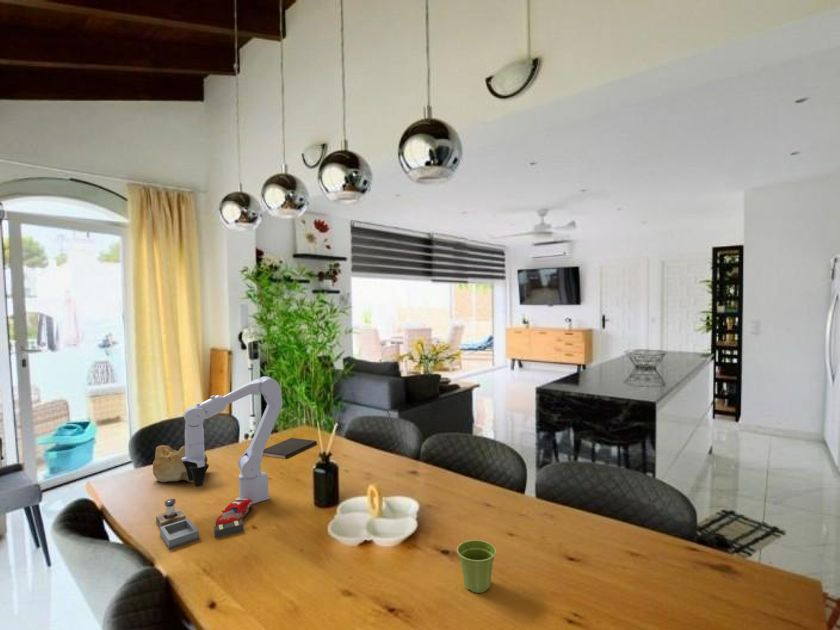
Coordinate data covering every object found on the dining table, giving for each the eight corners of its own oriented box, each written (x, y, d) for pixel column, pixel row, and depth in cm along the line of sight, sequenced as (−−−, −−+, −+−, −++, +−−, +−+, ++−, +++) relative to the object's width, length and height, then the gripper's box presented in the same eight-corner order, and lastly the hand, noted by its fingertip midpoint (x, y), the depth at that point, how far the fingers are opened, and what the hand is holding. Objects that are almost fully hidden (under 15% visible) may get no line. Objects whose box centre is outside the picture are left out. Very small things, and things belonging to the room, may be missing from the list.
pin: (174, 519, 146) (174, 498, 146) (177, 522, 144) (176, 500, 144) (164, 522, 144) (163, 500, 144) (166, 525, 142) (166, 503, 142)
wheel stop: (242, 527, 140) (241, 519, 140) (243, 532, 137) (243, 523, 137) (214, 534, 136) (213, 526, 136) (215, 539, 134) (214, 530, 133)
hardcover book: (258, 456, 210) (258, 451, 210) (291, 442, 231) (291, 437, 231) (285, 460, 203) (285, 455, 203) (316, 445, 224) (316, 440, 224)
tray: (188, 526, 141) (188, 518, 141) (199, 539, 133) (198, 530, 133) (160, 535, 136) (159, 527, 136) (169, 549, 128) (168, 540, 128)
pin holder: (179, 515, 149) (179, 508, 149) (185, 522, 144) (185, 515, 144) (156, 522, 145) (155, 515, 145) (161, 529, 139) (160, 523, 139)
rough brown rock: (225, 475, 187) (225, 438, 188) (194, 487, 171) (194, 447, 173) (182, 472, 194) (182, 437, 196) (148, 483, 179) (148, 445, 180)
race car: (232, 532, 137) (231, 516, 137) (211, 531, 138) (210, 516, 138) (256, 508, 154) (256, 494, 154) (237, 507, 154) (237, 493, 154)
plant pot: (454, 575, 112) (454, 540, 112) (491, 572, 113) (490, 538, 113) (461, 599, 103) (460, 562, 103) (501, 596, 103) (500, 559, 103)
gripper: (176, 440, 153) (176, 480, 153) (187, 450, 142) (188, 492, 143) (198, 436, 158) (199, 474, 158) (210, 445, 147) (211, 486, 147)
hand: (195, 483), depth 151 cm, fingers open, 7 cm apart
